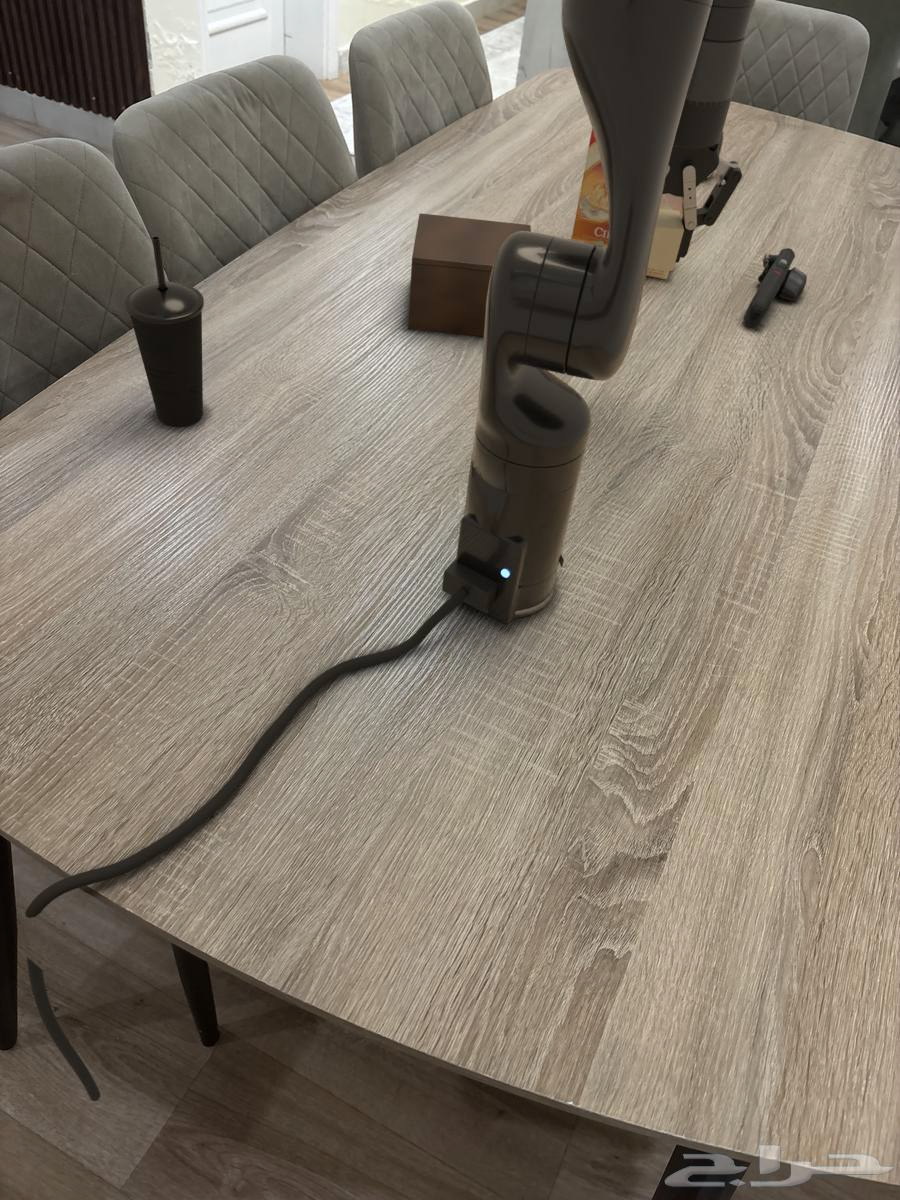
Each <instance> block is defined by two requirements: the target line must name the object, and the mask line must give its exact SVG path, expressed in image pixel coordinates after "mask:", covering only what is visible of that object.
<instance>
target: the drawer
mask: <svg viewBox="0 0 900 1200" xmlns="http://www.w3.org/2000/svg"><path fill="white" fill-rule="evenodd" d="M594 245H596V247H597V246H604V244H603V242H602V241H594Z"/></svg>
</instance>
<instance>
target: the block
mask: <svg viewBox="0 0 900 1200" xmlns="http://www.w3.org/2000/svg"><path fill="white" fill-rule="evenodd" d="M683 232H684V228H683V224H682V220H681V216H680V212H679V211H676V210H667V209H659V213H658V218H657V223H656V228H655V233H654V238H653V243H652V248H651V253H650V258H649V263H648V268H652V269H661V270H669V272H673V271H674V268H675V265H676V263H677V262H676V258H677V254H678V251H679V247H680V243H681V239H682V236H683Z"/></svg>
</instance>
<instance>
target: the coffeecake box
mask: <svg viewBox="0 0 900 1200" xmlns="http://www.w3.org/2000/svg"><path fill="white" fill-rule="evenodd" d="M590 132H591V133H590V138H589V142H588V148H587V153H586V159H585V164H584V170H583V173H582V180H581V185H580V191H579V196H578V202H577V207H576V213H575V218H574V222H573V227H572V232H571V237H570V238H571V239H570V240H574V241H579V242H584V243H588V244H593V245H594V241H602V242H603V244H604V246H607V245H608V236H609V212H608V196H607V189H606V183H605V177H604V172H603V168H602V163H601V159H600V154H599V150H598V146H597V142H596V139H595V135H594V132H593V129H592V128H591V131H590ZM659 209H667V210H676V211H679V212H680V216H681V220H682V216H683V215H682V199H681V197H678V196H674V195H671V194H669V193H668V194H662V198H661V203H660V208H659ZM669 273H670V270H661V269H652V268H647V273H646V277H652V278H655V279H660V280H661V279H662V280H665V281H666V280H668V278H669V277H668V276H669Z"/></svg>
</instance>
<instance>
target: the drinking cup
mask: <svg viewBox="0 0 900 1200" xmlns="http://www.w3.org/2000/svg"><path fill="white" fill-rule="evenodd" d="M160 239H161V238H160V237H159V236H152V238H151V242H152V248H153V256H154V262H155V268H156V269H155V270H156V276H157V282H156V281H154V282H150V283H145V284H142V285H140V286H136V287H134V288H133V289H132V290H130V291H129V292H128V293H127V294H126V296H125V298H124V300H123V301H124V309H125V310H126V312H127V314H128V315H129V316H130V321H131V323H132V327H133V332H134V334H135V339H136V342H137V346H138V349H139V352H140V353H139V354H140V357H141V359H142V364H143V367H144V368H143V369H144V371H145V375H146V379H147V383H148V386H149V389H150V393H151V396H152V397H151V398H152V400H153V404H154V407H155V411H156V415H157V418H158V420H159V421H160V422H161V423H162V424H164V425H167V426H169V427H174V428H183V427H189V426H192V425H194V424H197V423H198V422H199V421H201V419H202V418H203V416H204V393H203V392H204V391H203V390H204V388H203V387H204V385H203V383H204V382H203V381H204V380H203V317H202V316H203V312H202V311H203V309H204V307H205V299H204V295H203V294H202V293H201V291H200V290H198V289H197V288H195V287H194V286H191V285H189V284H186V283H182V282H177V281H166V277H165V269H164V262H163V255H162V247H161V240H160Z"/></svg>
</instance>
